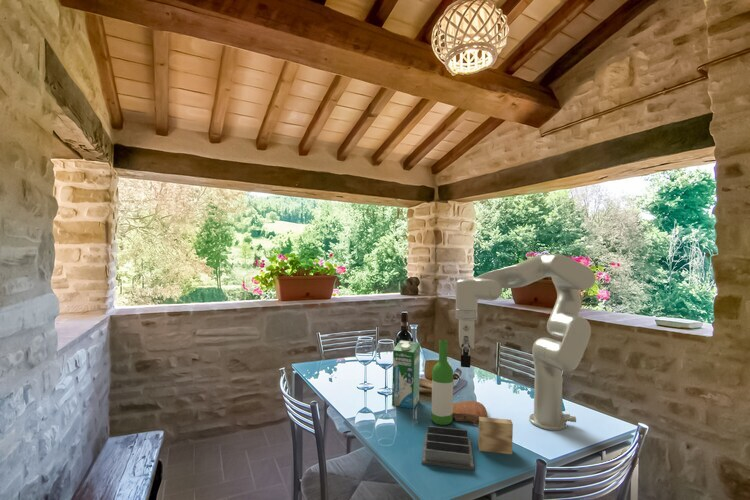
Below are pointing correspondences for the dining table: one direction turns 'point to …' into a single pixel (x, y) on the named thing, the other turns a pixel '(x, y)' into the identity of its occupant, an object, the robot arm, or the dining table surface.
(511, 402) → the dining table surface
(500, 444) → the oak board
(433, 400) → the wine bottle
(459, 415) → the ceramic shard
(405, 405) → the milk carton
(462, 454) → the rack
